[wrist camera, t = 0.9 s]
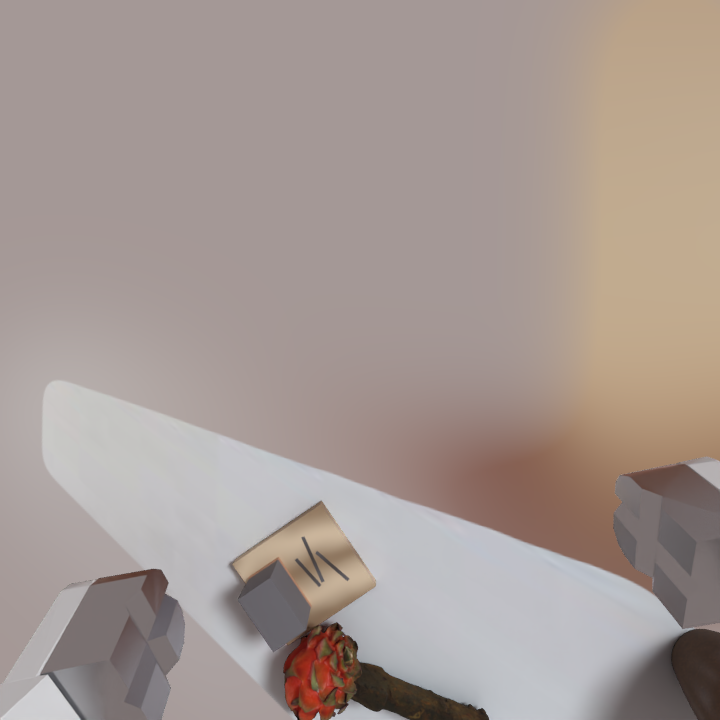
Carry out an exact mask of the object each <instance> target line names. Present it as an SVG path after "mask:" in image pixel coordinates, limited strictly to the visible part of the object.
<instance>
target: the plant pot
mask: <svg viewBox="0 0 720 720" xmlns="http://www.w3.org/2000/svg"><path fill="white" fill-rule="evenodd" d="M672 665H673V669H674V671H675V674H676V676H677V678H678V681H679V683H680V685H681V687H682V690H683V692H684V694H685V696H686V698H687V700H688V702H689V704H690V706H691V708H692V710H693V711H694V713H695V715H696V717H697V719H698V720H720V633H719V632H715V631H711V630H707V629H696V630H692V631H689V632H687V633H685V634H684V635H683V636H681V637H680V638H679V639H678V641H677V642H676V644H675V646H674V648H673V651H672Z"/></svg>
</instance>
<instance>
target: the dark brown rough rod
mask: <svg viewBox="0 0 720 720" xmlns="http://www.w3.org/2000/svg"><path fill="white" fill-rule="evenodd" d="M359 663H360V662H359ZM360 666H361V669H362V673H361V676H360V677H359V678H357V679H356V680H355V681H354V683H355V685H356V689H357V691H356V694H354V695H353V697H352V698H351V699H352V700H354V701H356V702H359V703H360V704H362V705H363V706H365V707H366V708H368V709H370V710H372V711H376V712H378V711H380V710H382V709H385V710H389V711H391V712H394V713H397V714H399V715H401V716H403V717H405V718H407V719H410V720H489V717H488V715H487V714H486V712H485V710H484V709H483V708H481V709H478V710H476V709H475V708H474V707H473V706H472V705H471V704H469V705H468V706H465V705H463V704H460V703H457V702H455V701H454V700H451V699H447V698H444V697H442V696H439V695H437V694H435V693H433V692H432V691H431V690H425V689H423V688H421V687H419V686H415V685H412V684H410V683H407V682H405V681H403V680H400V679H398V678H395V677H393V676H390V675H389V674H388V673H386V672H385V671H384V670H383V668H381V667H379V666H375V665H372V664H367V663H360Z"/></svg>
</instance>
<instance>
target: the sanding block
mask: <svg viewBox="0 0 720 720" xmlns="http://www.w3.org/2000/svg"><path fill="white" fill-rule="evenodd" d="M238 601H239V603H240V604H241V606H242V607H243V608H244V610H245V611H246V613H247V614H248V616H249V617H250V619H251V620H252V622H253V623H254V625H255V626H256V628H257V629H258V631H259V632H260V633H261V635H262V636H263V638H264V639H265V641H266V642H267V644H268V645H269V647H270V648H271V650H272V651H273V652H274V651H276V650H277V649H279V648H280V647H282V646H283V645H285V644H286V643H288V642H289V641H291V640H292V639H294V638H295V637H297V636H298V635H300V634H301V633H303V632H304V631H305V630H306V628H307V623H308V619H309V614H310V609H311V607H312V605H311V604H310V602H309V601H308V599H307V598H306V596H305V595H304V593H303V592H302V590H301V589H300V587H299V586H298V585H297V583H296V582H295V580H294V579H293V577H292V576H291V574H290V573H289V571H288V570H287V568H286V567H285V565H284V564H283V562H282V561H281V560H280V558H279V557H277V558H276V559H275V560H273V561H272V562H270V563H269V564H267V565H266V566H264V567H263V568H261V569H260V570H258V571H257V572H255V573H254V574H252V575H251V576H249V578H248V581H247V583H246V585H245V587H244V589H243V591H242V593H241V594H240V596H239V598H238Z"/></svg>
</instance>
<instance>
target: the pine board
mask: <svg viewBox="0 0 720 720" xmlns="http://www.w3.org/2000/svg"><path fill="white" fill-rule="evenodd" d="M277 557H279V558H280V560H281V561H282V562H283V564H284V565H285V567H286V568H287V570H288V571H289V573H290V574H291V576H292V577H293V579H294V580H295V582H296V583H297V585H298V586H299V587H300V589H301V590H302V592H303V593H304V595H305V596H306V598H307V599H308V601H309V602H310V604H311V605H312V607H311V609H310V614H309V619H308V623H307V628H306V630H305V631H304V632H303V633H301V634H300V635H298V636H297V637H295V638H294V639H292V640H291V641H289V642H288V643H286V644H287V645H290V644H291V643H293V642H294V641H295V640H297V639H298V638H300V637H301V636H303V635H304V634H306V633H307V632H309V631H310V630H312V629H313V627H314V626H317V625H319V624H321V623H322V622H324V621H325V620H327V619H328V618H330V617H331V616H332V615H334V614H335V613H337V612H338V611H340V610H341V609H343V608H344V607H346V606H347V605H349V604H350V603H352V602H353V601H355V600H356V599H358V598H359V597H361V596H362V595H364V594H365V593H367V592H368V591H369V590H371V589H372V588H374V587H375V586H376V580H375V578H374V577H373V576H372V574H371V573H370V571H369V570H368V568H367V567H366V565H365V564H364V562H363V561H362V559H361V558H360V556H359V555H358V553H357V552H356V551H355V549H354V548H353V546H352V545H351V543H350V542H349V540H348V539H347V537H346V536H345V534H344V533H343V531H342V530H341V528H340V527H339V526H338V524H337V523H336V521H335V520H334V518H333V517H332V515H331V514H330V512H329V511H328V509H327V508H326V506H325V505H324V504H323V502H322V501H320V502H319V503H317V504H316V505H314V506H313V507H311V508H310V509H308V510H307V511H306V512H304V513H303V514H301V515H300V516H298V517H297V518H295V519H294V520H292V521H291V522H289V523H288V524H286V525H285V526H283V527H282V528H280V529H279V530H278V531H276V532H275V533H273V534H272V535H270V536H269V537H267V538H266V539H264V540H263V541H261V542H260V543H258V544H257V545H255V546H254V547H252V548H251V549H250V550H248V551H247V552H245V553H244V554H242V555H241V556H239V557H238V558H236V559H235V561H234V563H233V564H232V565H233V566H234V567H235V569H236V570H237V572H238V573H239V575H240V576H241V578H242V579H243V581H244V582H245V584H246V583H247V581H248V578H249V576H251V575H252V574H254V573H255V572H257V571H258V570H260V569H261V568H263V567H264V566H266V565H267V564H269V563H270V562H272V561H273V560H275V559H276V558H277Z"/></svg>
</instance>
